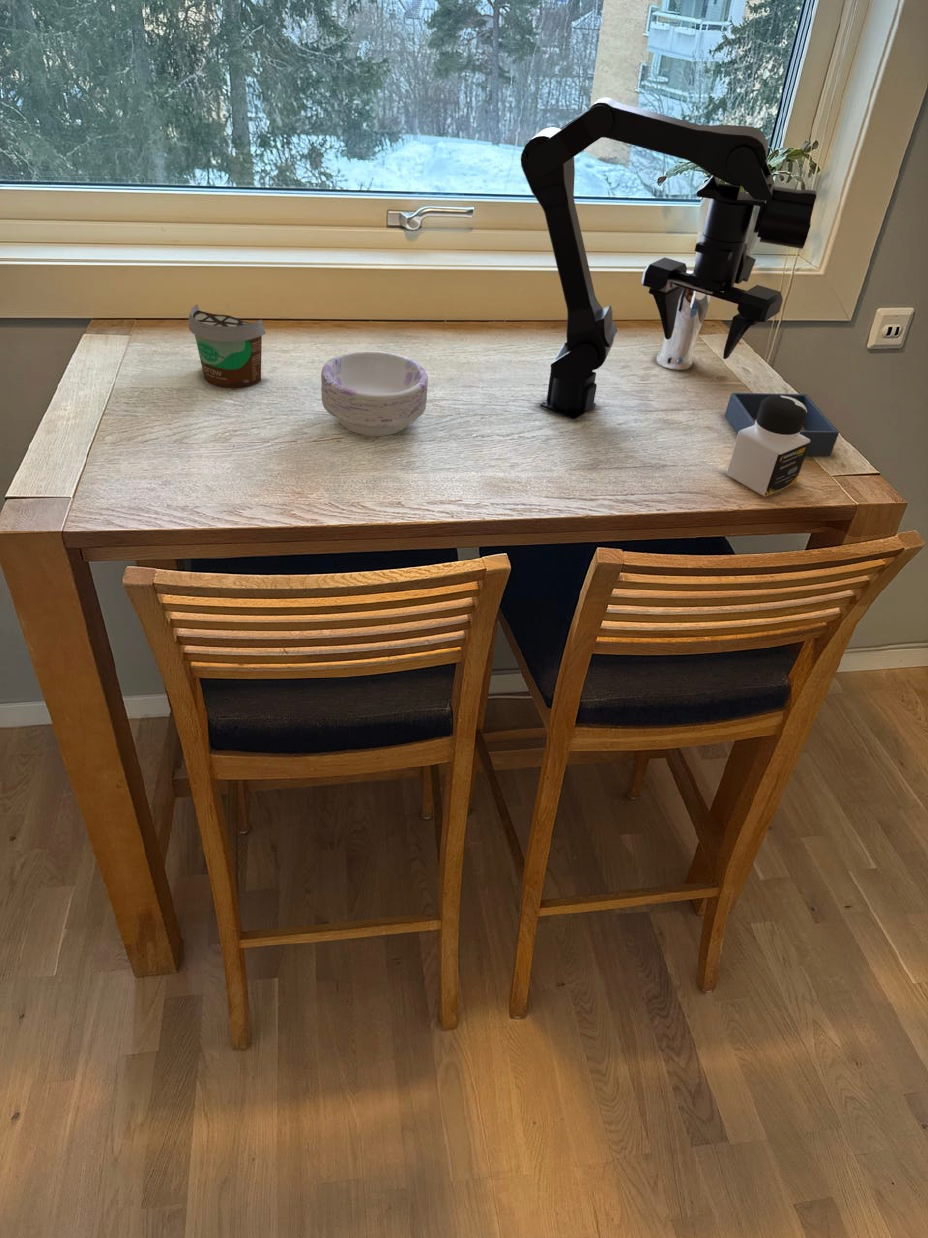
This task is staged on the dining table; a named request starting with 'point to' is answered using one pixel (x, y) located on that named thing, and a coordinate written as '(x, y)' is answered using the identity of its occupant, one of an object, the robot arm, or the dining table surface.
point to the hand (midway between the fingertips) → (696, 348)
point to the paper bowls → (374, 391)
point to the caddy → (815, 422)
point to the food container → (227, 348)
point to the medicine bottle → (771, 447)
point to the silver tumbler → (684, 330)
